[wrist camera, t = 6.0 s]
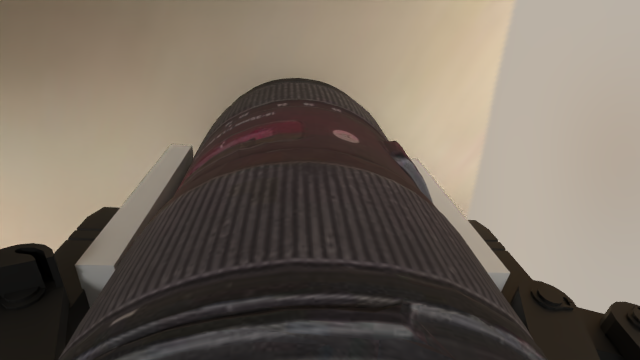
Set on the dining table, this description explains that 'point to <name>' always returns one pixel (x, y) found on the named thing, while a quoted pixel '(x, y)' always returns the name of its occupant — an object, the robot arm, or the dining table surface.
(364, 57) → the dining table surface
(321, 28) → the dining table surface
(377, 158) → the camera lens
